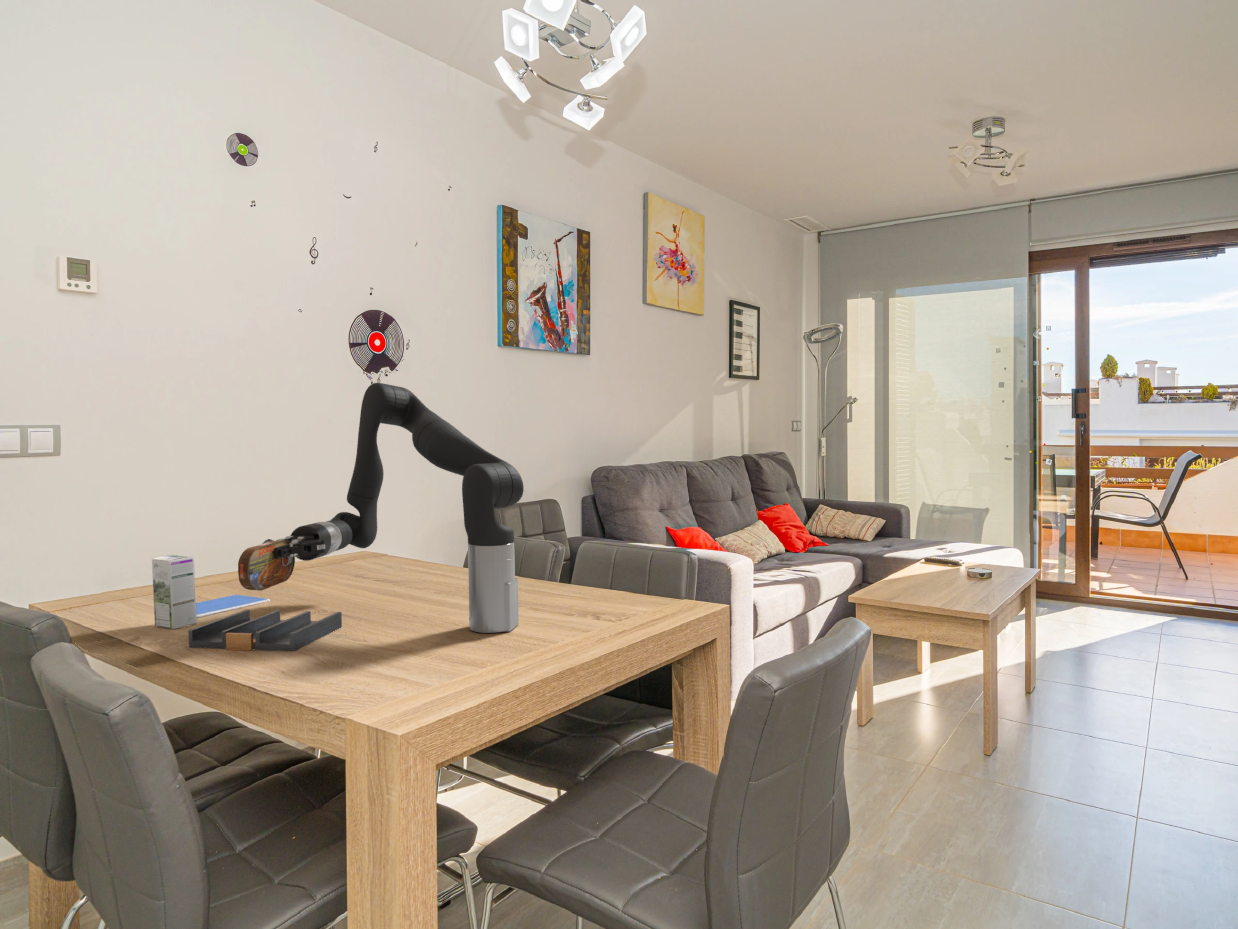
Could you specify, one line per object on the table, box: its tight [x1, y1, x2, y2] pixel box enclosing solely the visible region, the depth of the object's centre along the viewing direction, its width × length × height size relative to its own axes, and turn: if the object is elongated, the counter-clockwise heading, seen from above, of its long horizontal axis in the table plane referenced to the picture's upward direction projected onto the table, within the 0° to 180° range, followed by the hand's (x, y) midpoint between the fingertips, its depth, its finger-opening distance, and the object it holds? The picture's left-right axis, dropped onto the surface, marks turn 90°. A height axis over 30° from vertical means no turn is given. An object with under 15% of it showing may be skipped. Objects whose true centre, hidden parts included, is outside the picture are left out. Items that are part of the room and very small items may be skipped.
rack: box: [187, 609, 343, 652], centre depth 147 cm, size 21×18×3 cm
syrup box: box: [151, 554, 198, 630], centre depth 157 cm, size 6×6×14 cm
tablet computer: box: [196, 594, 271, 619], centre depth 175 cm, size 19×13×1 cm, turn 153°
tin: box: [237, 540, 296, 592], centre depth 147 cm, size 15×3×8 cm, turn 171°
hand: (268, 553), depth 148 cm, fingers closed on tin, 2 cm apart
